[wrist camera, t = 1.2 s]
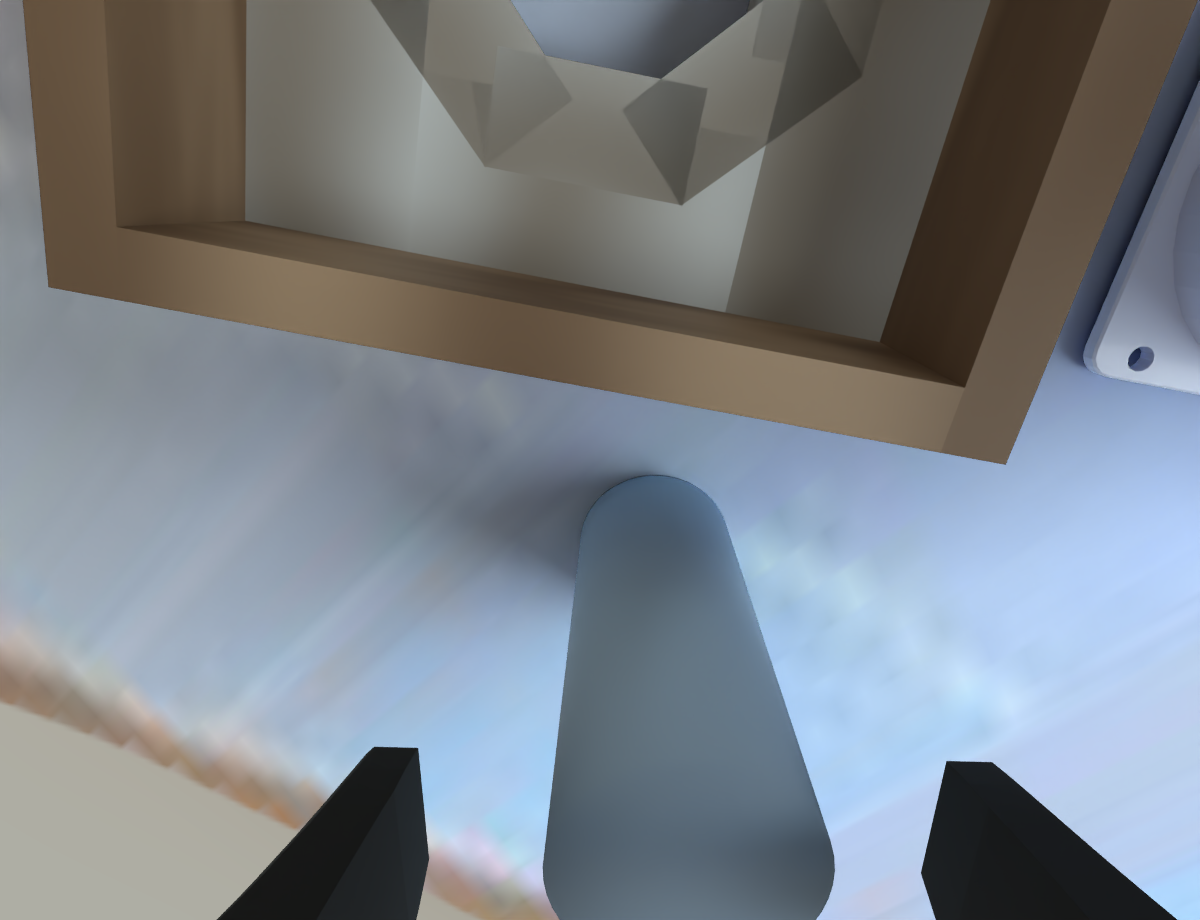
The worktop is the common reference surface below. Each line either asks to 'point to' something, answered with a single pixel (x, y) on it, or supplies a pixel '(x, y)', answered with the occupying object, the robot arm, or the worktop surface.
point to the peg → (675, 731)
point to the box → (614, 191)
